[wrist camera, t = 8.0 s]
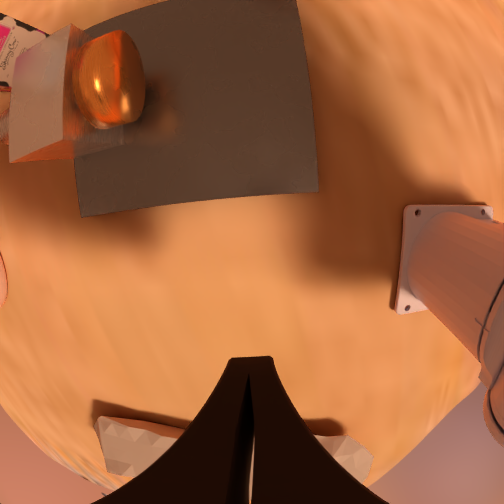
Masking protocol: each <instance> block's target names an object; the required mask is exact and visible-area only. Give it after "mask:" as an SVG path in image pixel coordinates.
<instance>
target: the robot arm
mask: <svg viewBox="0 0 504 504" xmlns="http://www.w3.org/2000/svg"><path fill="white" fill-rule="evenodd" d="M417 209H418V214H417V215H415V211H416V210H417ZM481 211H482V213H481ZM407 305H408V307H407V308H405V307H406V306H407ZM394 309H395V312H396V313H397V314H399V315H402V314H407V313H412V312H417V311H422V310H427V309H429V310H430V311H431V312H432V313H433V314H434V315H435V316H436V317H437V318H438V319H439V320H440V321H441V322H442V323H443V324H444V325H445V326H446V327H447V328H448V329H449V330H450V331H451V332H452V333H453V334H454V335H455V336H456V337H457V338H458V339H459V340H460V341H461V342H462V343H463V345H464V346H465V347H466V348H467V349H468V350H469V351H470V352H471V353H472V354H473V355H474V356H475V358H476V359H477V360H478V361H479V362H480V363H481V366H482V367H481V372H480V374H479V379H480V380H481V381H482V382H483V384H484V385H485V386H486V387H487V389H488V390H487V392H486V394H485V398H484V403H483V413H484V419H485V422H486V425H487V427H488V429H489V431H490V433H491V435H492V436H493V437H494V439H495V440H496V441H497V442H498V443H499V444H500V445H501V446H503V447H504V223H501V222H499V221H496V220H493V208H492V207H491V206H488V205H407V206H406V207H405V209H404V212H403V235H402V250H401V261H400V271H399V279H398V287H397V295H396V301H395V308H394ZM253 445H254V461H253V480H252V496H251V504H389V503H388V502H386V501H384V500H383V499H381V498H380V497H378V496H377V495H376V494H374V493H373V492H372V491H370V490H369V489H368V488H366V487H365V486H364V485H363V484H361V483H360V482H359V481H358V480H357V479H356V478H354V477H353V476H352V475H351V474H350V473H349V472H348V471H347V470H346V469H345V468H343V467H342V466H341V465H340V464H339V463H338V462H337V461H336V460H335V459H334V458H333V457H332V456H331V455H330V453H329V452H328V451H327V450H326V449H325V448H324V447H323V446H322V444H321V443H320V442H319V441H318V440H317V438H316V437H315V436H314V435H313V433H312V432H311V431H310V429H309V428H308V427H307V425H306V424H305V422H304V421H303V419H302V418H301V417H300V415H299V414H298V412H297V410H296V409H295V407H294V406H293V404H292V402H291V400H290V398H289V397H288V395H287V393H286V391H285V389H284V387H283V385H282V383H281V381H280V379H279V376H278V374H277V371H276V368H275V365H274V361H273V358H272V357H271V356H259V357H238V358H231V359H230V360H229V361H228V363H227V366H226V368H225V370H224V372H223V374H222V376H221V378H220V380H219V382H218V383H217V385H216V387H215V389H214V390H213V392H212V393H211V395H210V397H209V398H208V400H207V401H206V403H205V404H204V406H203V407H202V409H201V410H200V412H199V413H198V414H197V416H196V417H195V418H194V420H193V421H192V422H191V424H190V425H189V426H188V428H187V429H186V430H185V431H184V432H183V434H182V435H181V436H180V437H179V438H178V439H177V440H176V441H175V442H174V443H173V445H172V446H171V447H170V448H169V449H168V450H167V451H166V452H165V453H163V454H162V455H161V456H160V457H159V458H158V459H157V460H156V461H155V462H154V463H153V464H151V465H150V466H149V467H148V468H147V469H145V470H144V471H143V472H142V473H140V474H139V475H138V476H136V477H135V478H133V479H132V480H131V481H129V482H128V483H126V484H125V485H123V486H122V487H120V488H119V489H117V490H116V491H114V492H112V493H111V494H109V495H107V496H105V497H103V498H101V499H99V500H97V501H95V502H93V503H91V504H249V484H250V472H251V463H252V454H253ZM0 504H1V503H0Z"/></svg>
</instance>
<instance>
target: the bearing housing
mask: <svg viewBox="0 0 504 504" xmlns="http://www.w3.org/2000/svg"><path fill="white" fill-rule="evenodd" d="M116 30H121V31H124V32H126V33H127V34H128V35H129V36H130V37H131V38H132V39H133V41H134V43H135V44H136V46H137V48H138V51H139V54H140V56H141V60H142V64H143V69H144V75H145V101H144V106H143V110H142V112H141V115H140V116H139V118H138V119H137V120H136V121H134V122H131V123H127V124H123V125H119V126H116V127H112V128H109V129H104V130H103V129H98V128H96V127H94V126H92V125H91V124H90V123H89V122H88V121H87V120H86V119H85V117H84V116H83V114H82V113H81V111H80V110H78V109H75V108H76V99H75V95H74V90H73V83H72V71H73V64H74V60H75V57H76V55H77V53H78V51H79V49H80V48H81V47H82V46H83V45H84V44H85V43H87V42H89V41H91V40H93V39H95V38H98V37H100V36H103V35H105V34H108V33H110V32H113V31H116ZM54 159H74V165H75V175H76V184H77V193H78V200H79V207H80V213H81V218H83V217H88V216H94V215H100V214H106V213H112V212H119V211H125V210H132V209H139V208H146V207H154V206H161V205H169V204H177V203H186V202H195V201H204V200H214V199H224V198H235V197H247V196H260V195H274V194H290V193H310V192H319V183H318V166H317V151H316V139H315V127H314V117H313V107H312V98H311V90H310V81H309V74H308V67H307V60H306V53H305V47H304V40H303V35H302V29H301V23H300V18H299V13H298V8H297V3H296V0H169V1H165V2H161V3H157V4H154V5H150V6H147V7H143V8H140V9H137V10H134V11H131V12H128V13H125V14H122V15H120V16H117V17H114V18H112V19H109V20H107V21H104V22H102V23H99V24H97V25H95V26H92V27H90V28H88V29H86V30H84V31H82V30H81V29H79V28H77V27H76V26H74V25H73V24H70V25H68V26H66V27H64V28H62V29H60V30H59V31H57V32H55V33H53V34H52V35H50V36H48V37H47V38H45V39H43V40H42V41H40V42H39V43H37V44H35V45H34V46H32V47H31V48H29V49H28V50H27V51H25V52H24V53H22V54H21V55H19V56H18V57H17V58H16V61H15V67H14V73H13V80H12V89H11V98H10V112H9V163H16V162H26V161H38V160H54Z"/></svg>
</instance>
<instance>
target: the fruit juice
mask: <svg viewBox="0 0 504 504" xmlns="http://www.w3.org/2000/svg"><path fill="white" fill-rule="evenodd" d="M6 298H7V278H6V272H5V268H4V264H3V261H2V258H1V255H0V308H1V307H2V306H3V304H4V303H5V301H6Z"/></svg>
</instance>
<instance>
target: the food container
mask: <svg viewBox="0 0 504 504" xmlns="http://www.w3.org/2000/svg"><path fill="white" fill-rule="evenodd" d="M94 429H95V431H96V434H97V436H98V439H99V442H100V445H101V449H102V452H103V455H104V459H105V463H106V468H107V472H110V473H113V474H117V475H121V476H128V477H136V476H138V475H139V474H140V473H142V472H143V471H144V470H145V469H147V468H148V467H149V466H150V465H151V464H153V463H154V462H155V461H156V460H157V459H158V458H159V457H160V456H161V455H162V454H163V453H165V452H166V451H167V450H168V449H169V448H170V447H171V446H172V445H173V443H174V442H175V441H176V440H177V439H178V438H179V437H180V436H181V435H182V434H183V432H184V431H185V430H186V429H182V428H177V427H172V426H167V425H162V424H157V423H151V422H147V421H141V420H132V419H124V418H116V417H107V416H100V417H99V418H98V419H97V421H96V423H95V425H94ZM314 436H315V437H316V438H317V440H318V441H319V442H320V443H321V444H322V446H323V447H324V448H325V449H326V450H327V451H328V452H329V453H330V455H331V456H332V457H333V458H334V459H335V460H336V461H337V462H338V463H339V464H340V465H341V466H342V467H343V468H345V469H346V470H347V471H348V472H349V473H350V474H351V475H352V476H353V477H354V478H356V479H357V480H358V481H359V482H360V483H361V484H362V483H363V482H364V481H365V479H366V478H367V477H368V474H369V471H370V468H371V465H372V461H373V458H374V457H373V455H372V454H371V453H370V452H369V451H368V450H367V449H366V448H365V447H364V446H363V445H361V444H360V443H359V442H357V441H356V440H354V439H353V438H351V437H350V436H349V435H341V436H327V437H326V436H318V435H314ZM253 461H254V445H253V454H252V463H251V472H250V484H249V500H251V496H252V480H253Z"/></svg>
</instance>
